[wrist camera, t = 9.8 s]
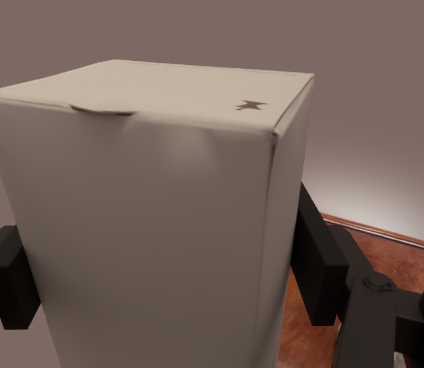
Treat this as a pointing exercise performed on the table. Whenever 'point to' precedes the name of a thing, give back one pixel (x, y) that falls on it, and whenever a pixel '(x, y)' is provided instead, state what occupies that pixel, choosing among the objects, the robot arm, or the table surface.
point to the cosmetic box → (158, 209)
